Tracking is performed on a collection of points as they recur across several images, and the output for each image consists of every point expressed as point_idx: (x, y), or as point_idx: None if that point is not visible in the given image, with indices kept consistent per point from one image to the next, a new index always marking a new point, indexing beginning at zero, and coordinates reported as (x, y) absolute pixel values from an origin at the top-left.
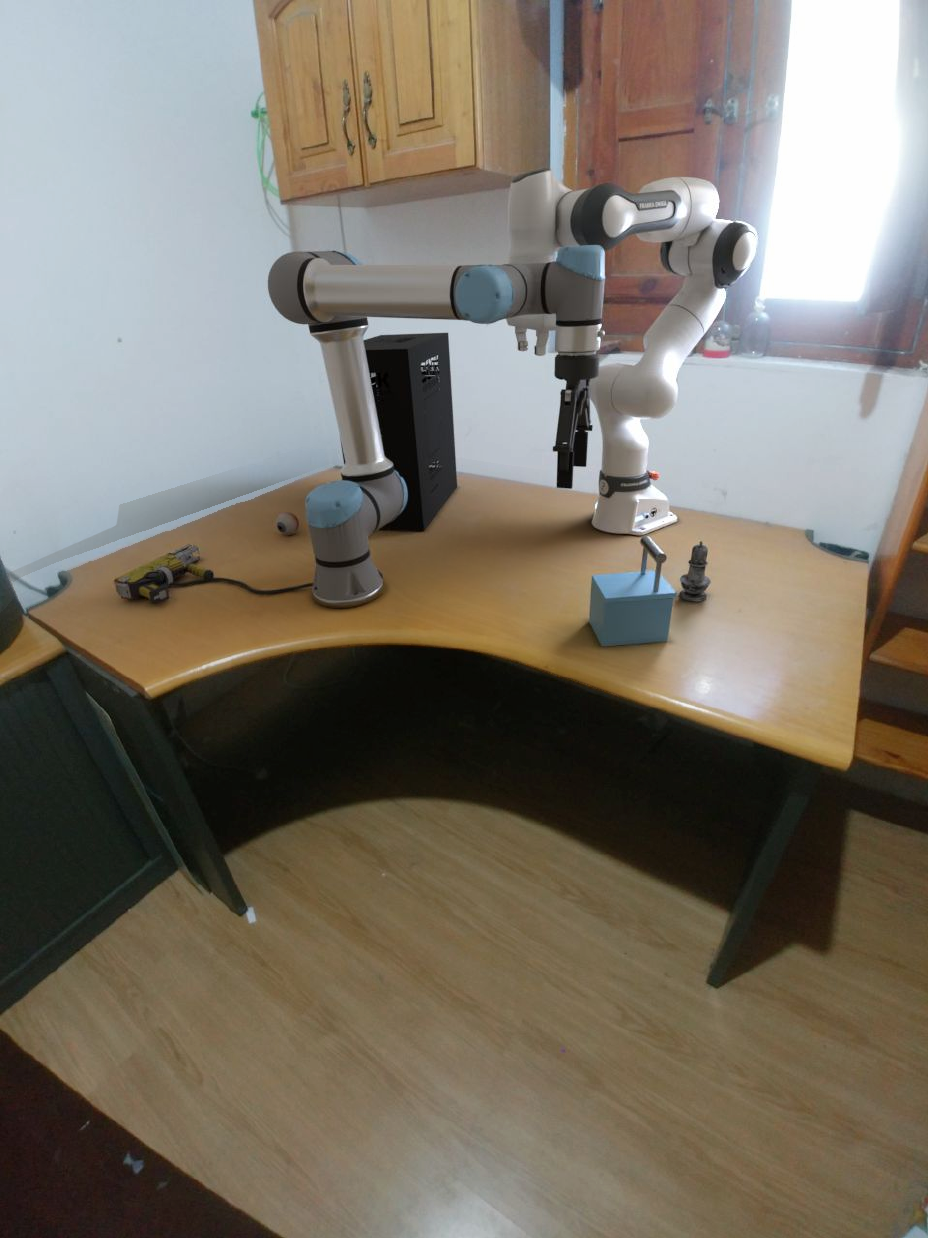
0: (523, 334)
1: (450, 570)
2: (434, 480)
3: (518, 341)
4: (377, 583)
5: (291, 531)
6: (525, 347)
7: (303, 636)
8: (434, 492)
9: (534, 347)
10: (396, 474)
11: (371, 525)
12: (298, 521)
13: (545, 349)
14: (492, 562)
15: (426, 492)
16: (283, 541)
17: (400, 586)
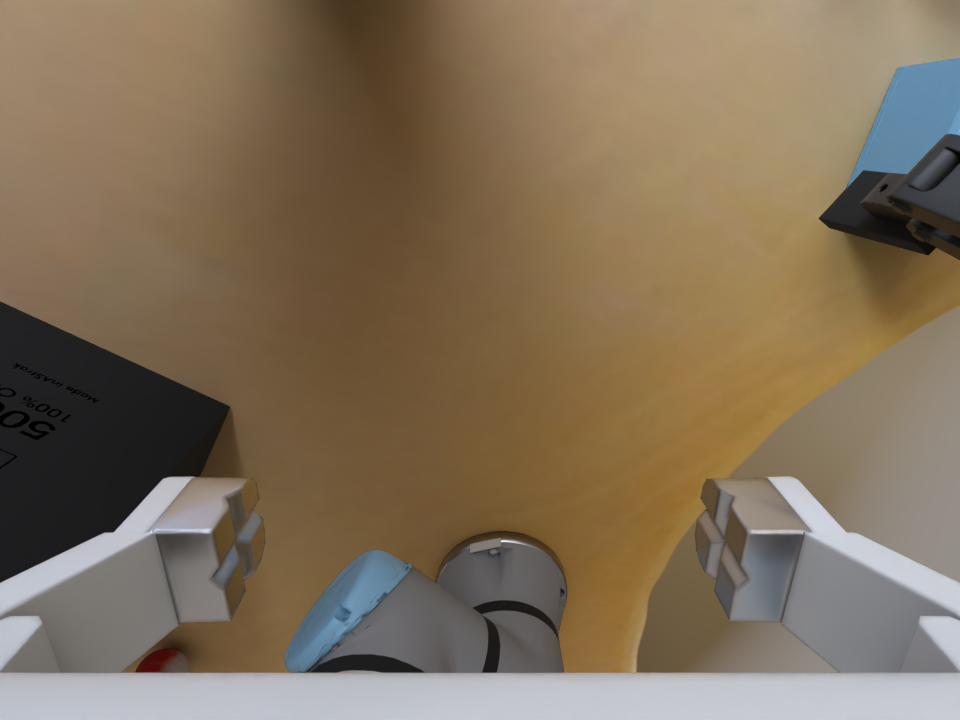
0: (63, 620)
1: (480, 401)
2: (34, 390)
3: (174, 625)
4: (538, 558)
5: (187, 661)
6: (245, 516)
7: (623, 647)
8: (69, 380)
9: (724, 605)
10: (351, 629)
11: (514, 642)
12: (157, 659)
13: (818, 504)
14: (475, 304)
15: (135, 428)
16: (212, 663)
17: (514, 502)
